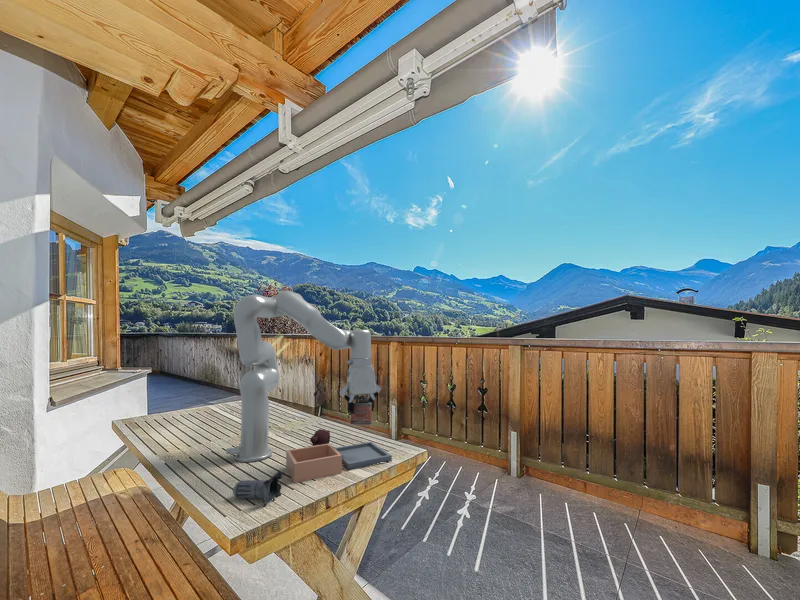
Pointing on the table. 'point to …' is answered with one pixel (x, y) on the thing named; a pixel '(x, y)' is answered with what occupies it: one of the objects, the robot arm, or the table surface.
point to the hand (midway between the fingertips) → (361, 411)
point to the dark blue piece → (259, 489)
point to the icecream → (320, 437)
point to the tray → (362, 455)
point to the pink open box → (313, 462)
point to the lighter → (361, 411)
